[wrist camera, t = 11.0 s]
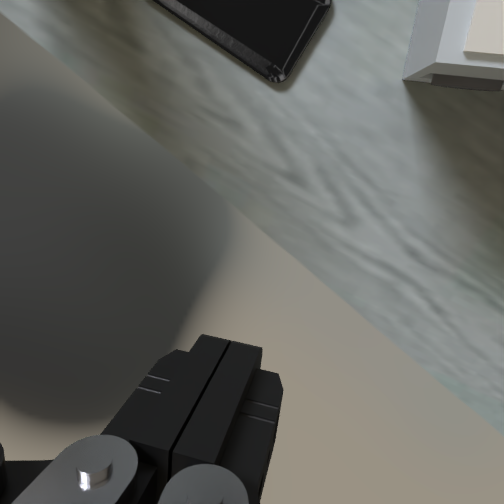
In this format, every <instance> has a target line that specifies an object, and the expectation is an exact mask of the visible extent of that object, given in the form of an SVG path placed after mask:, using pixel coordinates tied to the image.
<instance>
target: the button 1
mask: <svg viewBox="0 0 504 504" xmlns="http://www.w3.org/2000/svg"><path fill="white" fill-rule="evenodd" d="M503 82H504V80H495V79H485V78H475V77H465V76H454V75H444V74H434V73H433V77H432V81H431V85H436V86H442V87H450V88H460V89H470V90H484V91H501V88H502V85H503Z"/></svg>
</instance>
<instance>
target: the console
mask: <svg viewBox="0 0 504 504" xmlns="http://www.w3.org/2000/svg"><path fill="white" fill-rule="evenodd" d="M433 73H434V74H444V75H454V76H465V77H475V78H485V79H495V80H504V0H419V4H418V9H417V14H416V18H415V23H414V27H413V32H412V37H411V41H410V46H409V50H408V55H407V60H406V64H405V69H404V73H403V78H402V80H410V81H420V82H429V83H431V81H432V77H433ZM501 90H504V82H503V85H502V88H501Z"/></svg>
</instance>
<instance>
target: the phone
mask: <svg viewBox="0 0 504 504" xmlns="http://www.w3.org/2000/svg"><path fill="white" fill-rule="evenodd" d="M153 1H155V2H156V3H157V4H159V5H160V6H162V7H163V8H165V9H166V10H168V11H169V12H170V13H172V14H173V15H175V16H176V17H178V18H179V19H181V20H182V21H184V22H185V23H186V24H188V25H189V26H191V27H192V28H194V29H195V30H197V31H198V32H199V33H201V34H202V35H204V36H205V37H207V38H208V39H210V40H211V41H212V42H214V43H215V44H217V45H218V46H220V47H221V48H223V49H224V50H226V51H227V52H228V53H230V54H231V55H233V56H234V57H236V58H237V59H239V60H240V61H241V62H243V63H244V64H246V65H247V66H249V67H250V68H252V69H253V70H254V71H256V72H257V73H259V74H260V75H262V76H263V77H265V78H266V79H268V80H269V81H271V82H276V83H279V82H283V81H284V80H286V79H287V78H288V76H289V75H290V73H291V72H292V70H293V68H294V67H295V65H296V63H297V62H298V60H299V58H300V57H301V55H302V53H303V52H304V50H305V49H306V47H307V45H308V44H309V42H310V40H311V39H312V37H313V35H314V34H315V32H316V30H317V29H318V27H319V25H320V24H321V22H322V20H323V19H324V17H325V15H326V14H327V12H328V10H329V8H330V4H331V0H153Z"/></svg>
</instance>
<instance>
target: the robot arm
mask: <svg viewBox="0 0 504 504" xmlns="http://www.w3.org/2000/svg"><path fill="white" fill-rule="evenodd" d="M261 359H262V347H257V346H253V345H249V344H244V343H240V342H236V341H230V340H226V339H222V338H218V337H213V336H209V335H204V334H202V335H201V336H200V337H199V338H198V340H197V341H196V343H195V344H194V346H193V347H192V348H191V350H190V351H189V352H185V351H181V350H177V349H176V350H174V351H173V352H171V353H169V354H168V355H166V356H164V357H162V358H161V359H159V360H158V362H157V363H156V364H155V365H154V367H153V368H152V369H151V370H150V372H149V373H148V376H147V377H145V378H144V379H143V381H142V382H141V383H140V384H139V387H138V389H136V390H135V391H134V392H133V393H132V395H131V396H130V397H129V398H128V400H127V401H126V402H125V404H124V405H123V406H122V407H121V409H120V410H119V411H118V413H117V414H116V415H115V416H114V418H113V419H112V420H111V422H110V423H109V424H108V425H107V427H106V428H105V429H104V431H103V432H102V433H101V434H100V435H95V436H90V437H86V438H83V439H81V440H78V441H76V442H75V443H73V444H71V445H70V446H68V447H67V448H65V449H64V450H63V451H62V452H61V453H60V454H59V455H58V456H57V457H56V458H55V459H54V460H44V461H5V457H4V450H3V447H2V445H1V443H0V504H260V499H261V495H262V491H263V487H264V482H265V479H266V475H267V471H268V467H269V463H270V459H271V455H272V451H273V447H274V443H275V439H276V432H277V426H278V420H279V414H280V407H281V401H282V395H283V387H282V384H281V381H280V377H279V374H277V373H274V372H270V371H265V370H261V369H260V367H261Z"/></svg>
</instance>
